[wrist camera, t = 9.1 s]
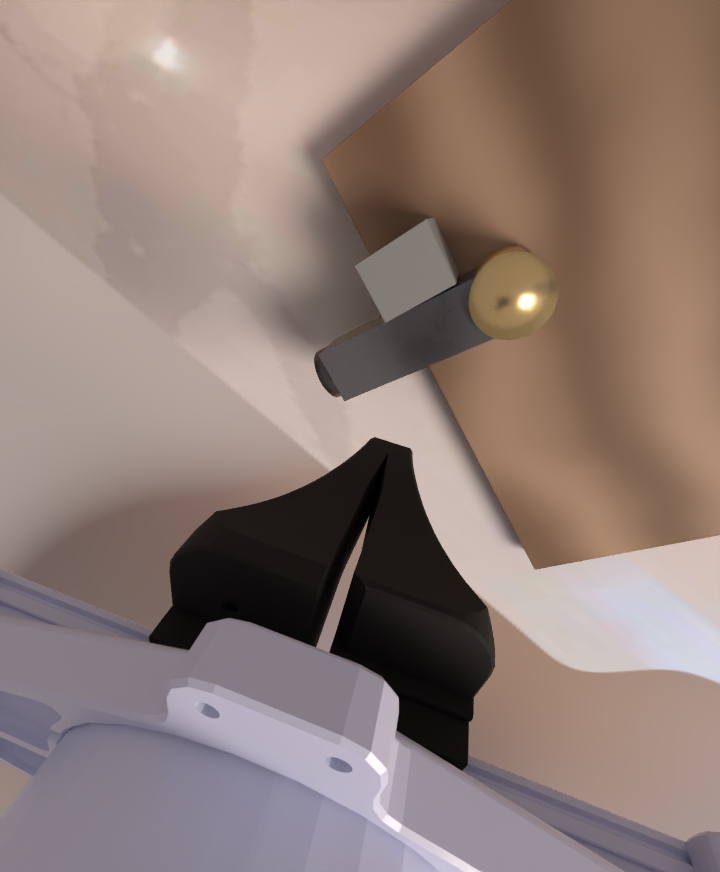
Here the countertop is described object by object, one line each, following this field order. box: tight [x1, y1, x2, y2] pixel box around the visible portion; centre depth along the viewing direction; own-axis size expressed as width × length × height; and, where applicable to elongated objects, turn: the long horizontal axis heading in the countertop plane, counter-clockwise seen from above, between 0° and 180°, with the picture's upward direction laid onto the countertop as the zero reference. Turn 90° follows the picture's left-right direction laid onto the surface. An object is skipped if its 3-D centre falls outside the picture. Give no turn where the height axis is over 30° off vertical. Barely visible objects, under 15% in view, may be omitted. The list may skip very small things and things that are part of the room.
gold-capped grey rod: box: [314, 245, 559, 401], centre depth 17 cm, size 10×3×3 cm, turn 119°
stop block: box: [355, 218, 459, 323], centre depth 16 cm, size 3×2×3 cm
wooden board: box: [322, 0, 720, 569], centre depth 17 cm, size 14×24×2 cm, turn 31°
